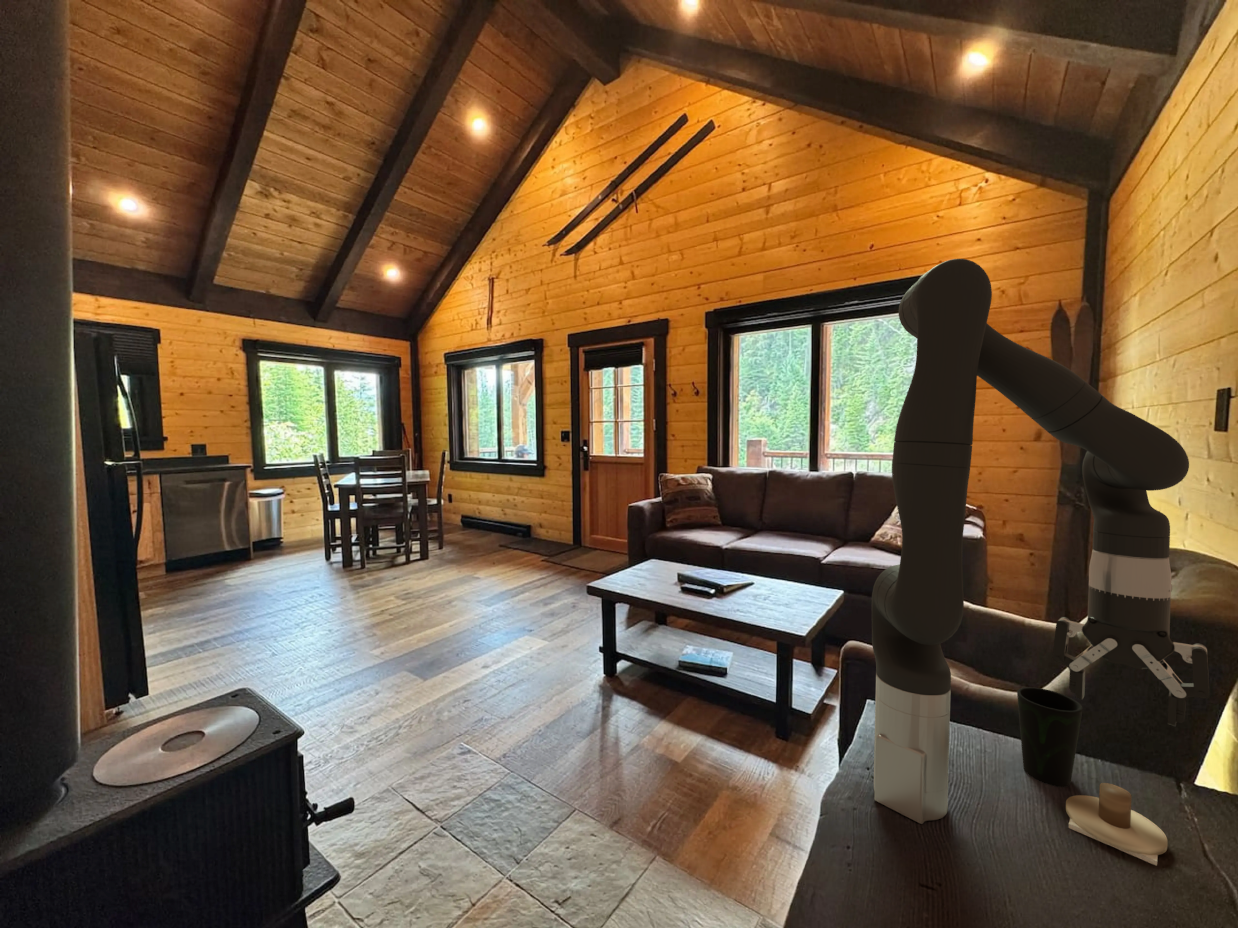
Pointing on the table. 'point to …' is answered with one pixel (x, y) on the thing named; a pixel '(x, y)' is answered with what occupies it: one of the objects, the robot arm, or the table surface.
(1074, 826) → the plate
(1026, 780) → the table surface
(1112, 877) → the table surface
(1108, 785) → the lid
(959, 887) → the table surface
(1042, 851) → the table surface
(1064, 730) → the cup
